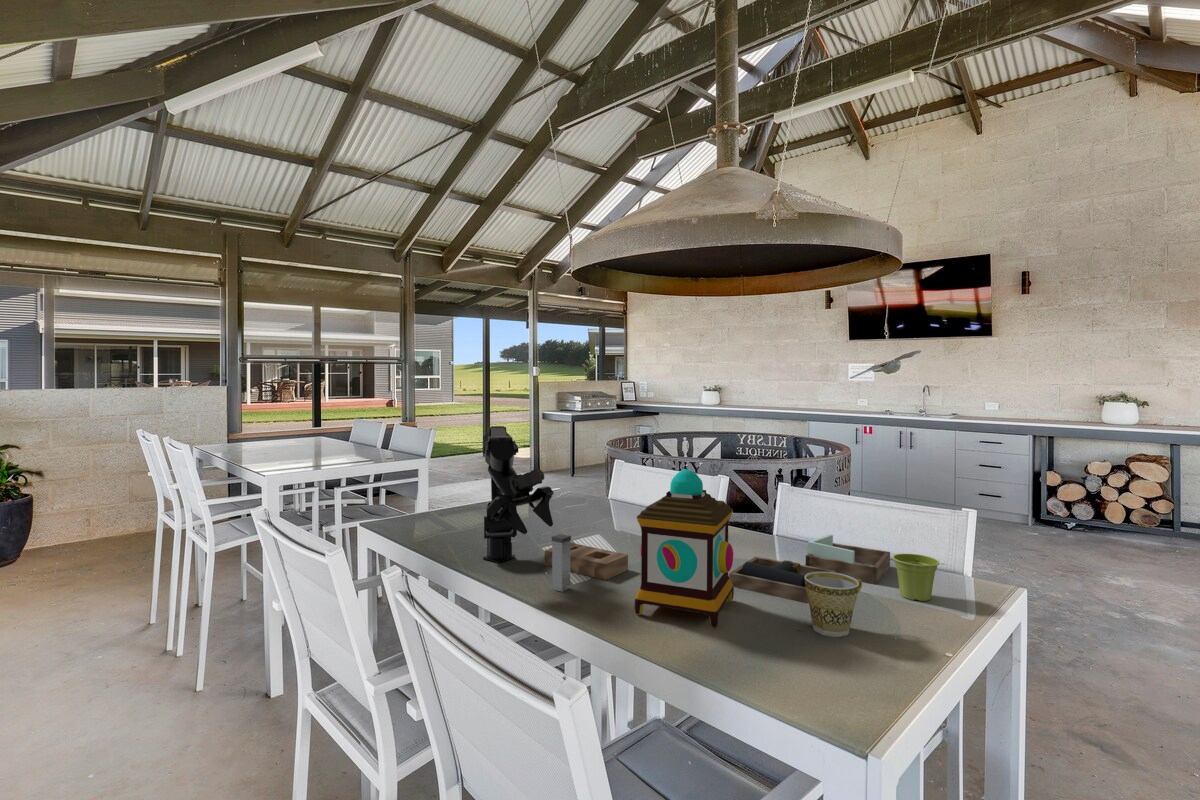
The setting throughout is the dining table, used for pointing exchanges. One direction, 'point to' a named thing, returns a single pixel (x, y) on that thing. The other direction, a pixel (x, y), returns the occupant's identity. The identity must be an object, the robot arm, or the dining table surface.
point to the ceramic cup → (831, 601)
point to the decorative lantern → (686, 550)
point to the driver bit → (561, 562)
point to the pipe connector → (776, 572)
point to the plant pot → (915, 575)
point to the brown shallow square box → (853, 569)
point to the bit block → (593, 561)
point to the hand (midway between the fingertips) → (539, 529)
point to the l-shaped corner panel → (829, 550)
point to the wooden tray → (769, 585)
